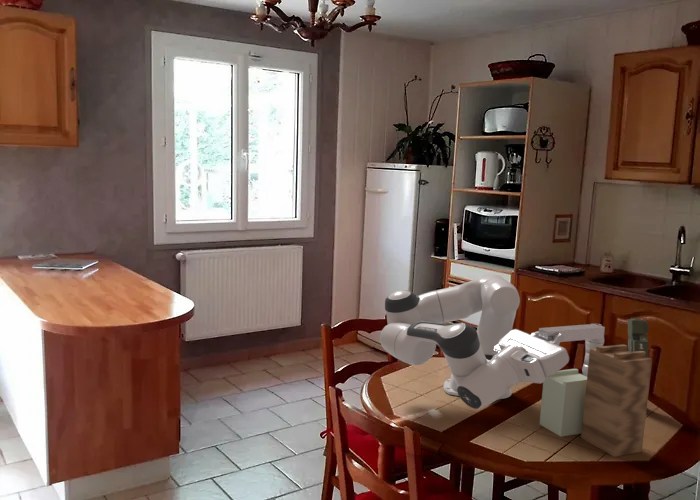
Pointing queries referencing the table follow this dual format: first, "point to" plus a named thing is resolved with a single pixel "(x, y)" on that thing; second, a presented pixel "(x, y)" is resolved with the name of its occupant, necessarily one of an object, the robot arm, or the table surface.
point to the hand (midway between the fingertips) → (554, 333)
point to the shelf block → (563, 402)
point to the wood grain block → (616, 399)
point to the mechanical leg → (637, 335)
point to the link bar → (573, 332)
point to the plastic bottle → (589, 345)
